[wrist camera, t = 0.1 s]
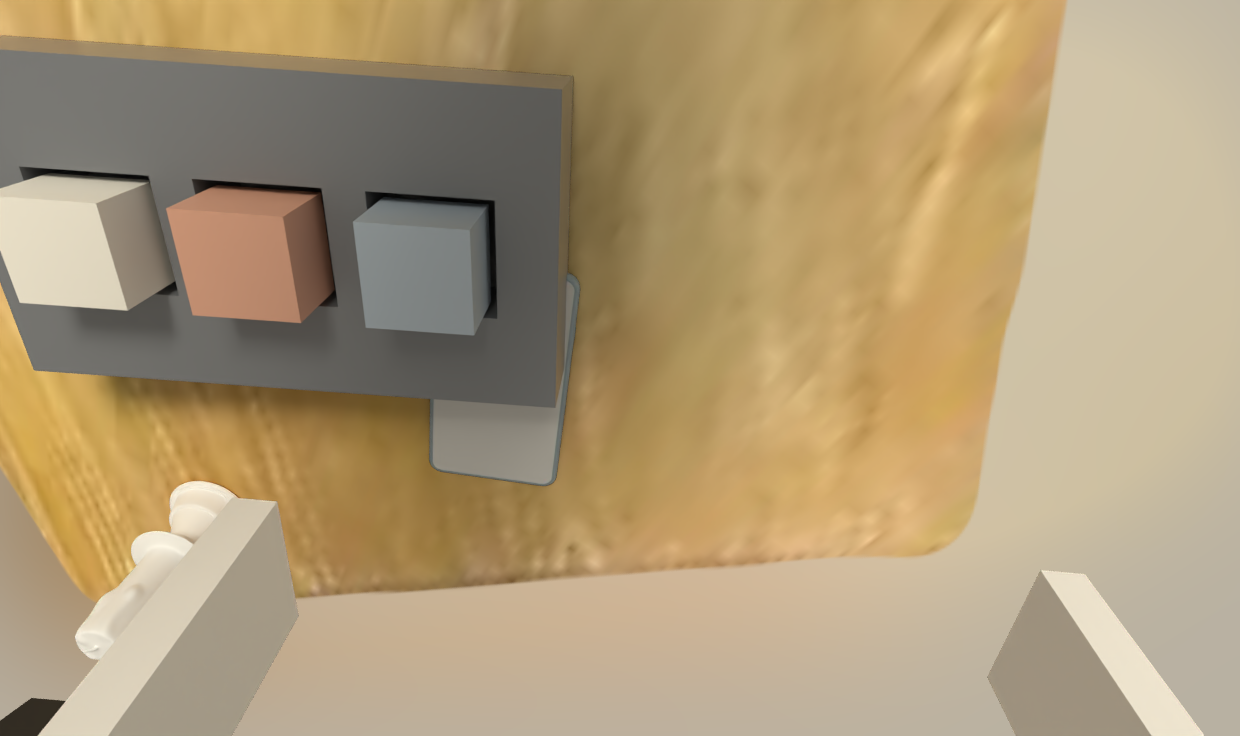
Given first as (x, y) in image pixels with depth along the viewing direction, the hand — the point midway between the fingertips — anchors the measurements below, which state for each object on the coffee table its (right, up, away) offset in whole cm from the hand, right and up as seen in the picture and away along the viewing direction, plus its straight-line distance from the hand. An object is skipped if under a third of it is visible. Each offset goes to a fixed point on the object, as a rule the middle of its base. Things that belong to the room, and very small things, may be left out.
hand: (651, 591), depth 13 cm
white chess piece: (-29, -6, +36) cm, 47 cm away
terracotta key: (-17, +10, +22) cm, 30 cm away
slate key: (-9, +10, +22) cm, 26 cm away
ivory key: (-25, +11, +22) cm, 35 cm away
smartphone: (-8, +4, +31) cm, 32 cm away
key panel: (-17, +12, +26) cm, 33 cm away
